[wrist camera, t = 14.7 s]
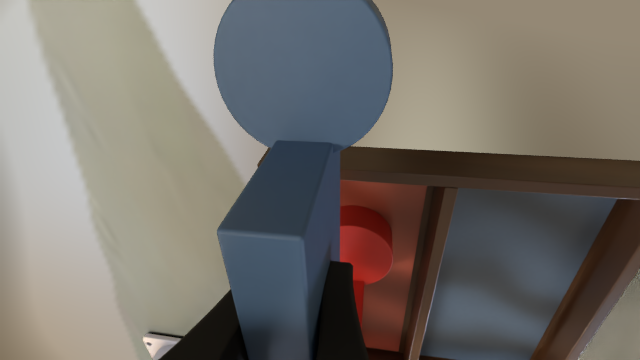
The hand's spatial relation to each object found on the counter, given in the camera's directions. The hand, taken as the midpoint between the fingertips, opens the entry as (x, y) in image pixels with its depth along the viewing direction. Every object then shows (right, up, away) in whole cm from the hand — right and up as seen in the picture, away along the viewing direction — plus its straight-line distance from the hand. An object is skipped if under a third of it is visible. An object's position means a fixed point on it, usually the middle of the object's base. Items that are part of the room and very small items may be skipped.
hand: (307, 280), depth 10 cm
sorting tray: (+7, -3, +10) cm, 13 cm away
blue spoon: (0, +3, +1) cm, 3 cm away
